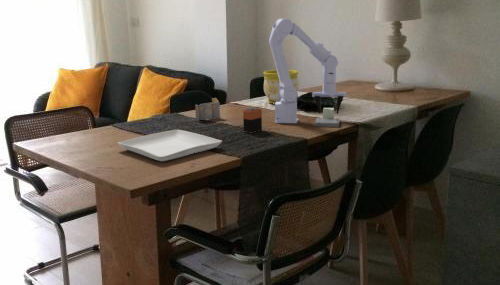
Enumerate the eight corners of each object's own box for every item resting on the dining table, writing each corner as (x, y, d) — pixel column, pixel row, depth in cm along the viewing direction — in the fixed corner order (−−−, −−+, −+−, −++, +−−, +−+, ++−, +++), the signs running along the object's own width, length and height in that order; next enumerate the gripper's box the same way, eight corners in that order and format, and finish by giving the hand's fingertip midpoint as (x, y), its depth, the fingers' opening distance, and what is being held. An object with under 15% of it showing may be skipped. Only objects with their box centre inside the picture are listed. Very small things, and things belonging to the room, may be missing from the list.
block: (322, 120, 225) (323, 109, 223) (323, 118, 229) (323, 107, 228) (333, 121, 224) (333, 109, 222) (333, 119, 228) (333, 108, 227)
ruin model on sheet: (216, 117, 237) (215, 97, 234) (220, 119, 234) (219, 98, 232) (195, 121, 230) (194, 100, 228) (198, 122, 228) (197, 101, 226)
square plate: (116, 151, 183) (115, 141, 182) (178, 137, 201) (177, 128, 200) (160, 166, 164) (159, 155, 163) (224, 149, 183) (223, 139, 182)
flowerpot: (259, 105, 264) (258, 73, 260) (269, 99, 280) (268, 69, 276) (293, 106, 258) (293, 74, 254) (301, 100, 275) (301, 69, 271)
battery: (243, 132, 206) (242, 108, 204) (254, 129, 211) (254, 105, 209) (250, 133, 204) (250, 109, 201) (262, 130, 208) (262, 106, 206)
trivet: (314, 126, 214) (314, 122, 214) (316, 121, 223) (316, 117, 223) (338, 127, 212) (338, 123, 212) (339, 121, 221) (339, 118, 221)
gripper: (346, 81, 224) (345, 111, 228) (313, 81, 227) (312, 111, 231) (345, 83, 218) (345, 114, 221) (311, 83, 221) (311, 114, 224)
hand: (328, 113), depth 225 cm, fingers open, 7 cm apart
